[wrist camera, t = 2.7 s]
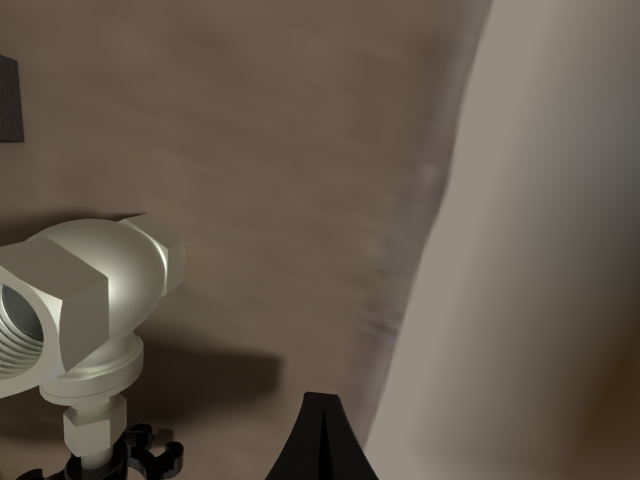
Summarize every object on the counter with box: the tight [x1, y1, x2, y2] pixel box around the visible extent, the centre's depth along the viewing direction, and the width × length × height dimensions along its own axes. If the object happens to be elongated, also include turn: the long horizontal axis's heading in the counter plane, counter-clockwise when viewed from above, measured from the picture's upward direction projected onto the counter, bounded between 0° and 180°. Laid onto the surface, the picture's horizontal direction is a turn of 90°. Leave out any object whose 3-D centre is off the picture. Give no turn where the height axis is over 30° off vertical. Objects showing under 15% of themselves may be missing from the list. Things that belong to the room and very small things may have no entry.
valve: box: [0, 213, 186, 480], centre depth 11 cm, size 7×7×12 cm
